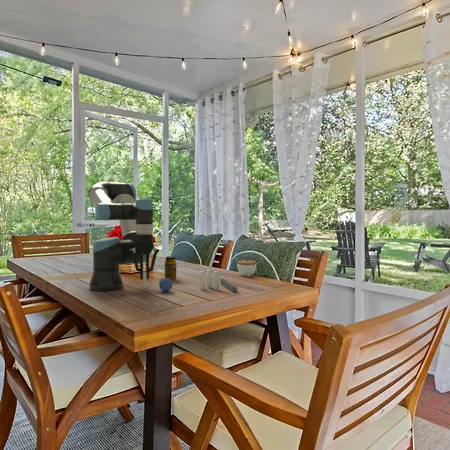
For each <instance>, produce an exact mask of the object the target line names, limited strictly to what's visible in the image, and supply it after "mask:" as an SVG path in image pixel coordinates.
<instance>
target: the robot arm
mask: <svg viewBox="0 0 450 450" xmlns="http://www.w3.org/2000/svg"><path fill="white" fill-rule="evenodd" d="M87 195H88V199H89V200H90V201H91V203H92V204H95V206H96V209H95V214H96V219H98V221H119V226H120V229H121V234H122V237H121V239H120V238H119V237H118V236H115V237H114V236H113V237H112V236H111V237H106V238H99V239H96V240H94V242H93V244H92V256H93V257H92V262H93V263H92V265H93V266H92V270H93V271H92V274H91V278H90V281H89V285H88V286H89V287H88V288H89V290H91V291H93V292H94V291H95V292H107V291H109V292H110V291H115V290H120V289H122V288H123V287H124V280H123V277H122V275H121V273H120V265H132V264H133V265H134V266H135V270H136V272H139V278H140V280H142V288H147V285H148V284H147V283H148V281H147V280H149V279H150V272H153V271H154V267H155V264H156V258H157V256H158V253H159V252H160V249H159V248H157V247H155V244H154V234H153V233H154V203H153V199H151V198H137V190H136V187H135V186H134V183H133V184H132V183H131V182H126V181H125V182H119V181H117V182H116V181H115V182H113V181H100V182H97V183H95V184H93V185H92V186H91V187H90V188H89V190H88V194H87ZM152 252H153V254H152V259H151V263H150V257H151V253H152ZM144 264H145V271H144Z"/></svg>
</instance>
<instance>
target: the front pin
mask: <svg viewBox="0 0 450 450" xmlns="http://www.w3.org/2000/svg"><path fill="white" fill-rule="evenodd" d="M199 290H201V291H205V290H206V270H199Z"/></svg>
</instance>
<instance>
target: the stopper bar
mask: <svg viewBox="0 0 450 450" xmlns="http://www.w3.org/2000/svg"><path fill="white" fill-rule="evenodd" d="M220 285H222V286H223V288H226V289H227V290H228V291H230V293H231V294H233V293H234V294H235V293H238V287H237V286H236V285H234V283H232V282H230V281H229V280H227V279H225V278H220Z"/></svg>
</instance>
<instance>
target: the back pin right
mask: <svg viewBox="0 0 450 450" xmlns="http://www.w3.org/2000/svg"><path fill="white" fill-rule="evenodd" d="M213 290H214V291H220V271H218V270H215V271H213Z"/></svg>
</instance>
